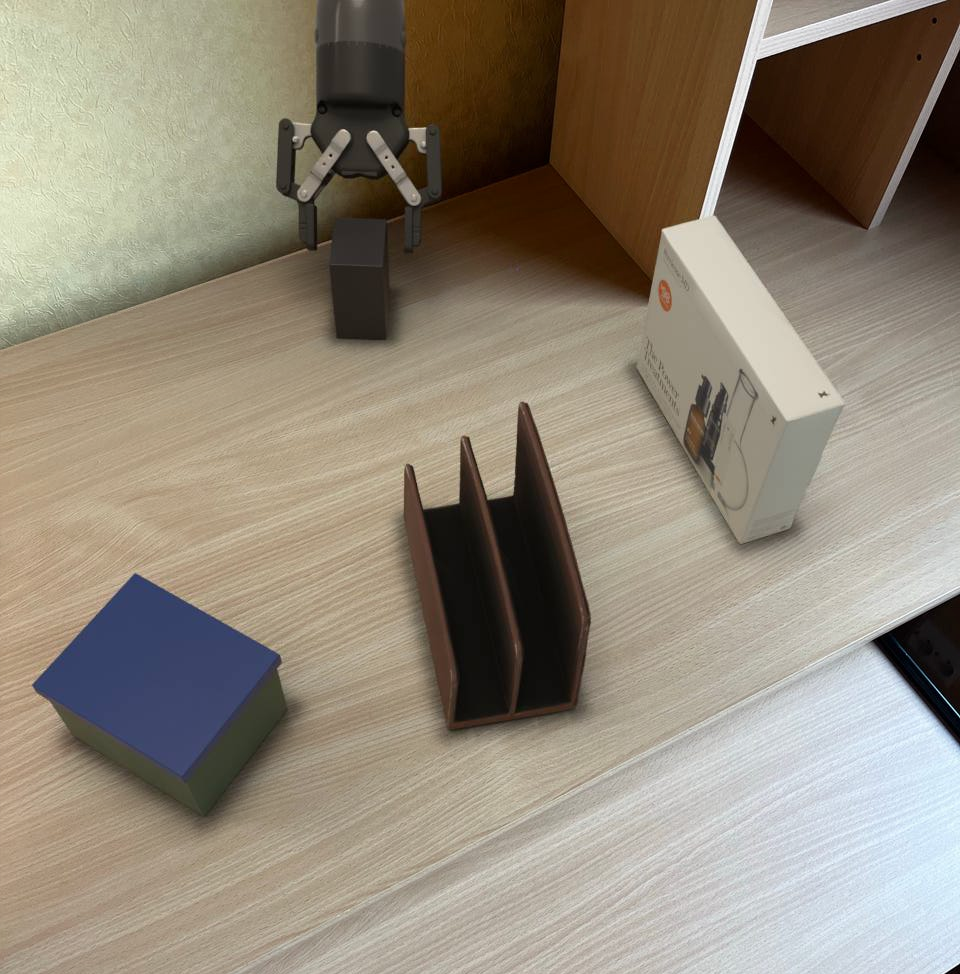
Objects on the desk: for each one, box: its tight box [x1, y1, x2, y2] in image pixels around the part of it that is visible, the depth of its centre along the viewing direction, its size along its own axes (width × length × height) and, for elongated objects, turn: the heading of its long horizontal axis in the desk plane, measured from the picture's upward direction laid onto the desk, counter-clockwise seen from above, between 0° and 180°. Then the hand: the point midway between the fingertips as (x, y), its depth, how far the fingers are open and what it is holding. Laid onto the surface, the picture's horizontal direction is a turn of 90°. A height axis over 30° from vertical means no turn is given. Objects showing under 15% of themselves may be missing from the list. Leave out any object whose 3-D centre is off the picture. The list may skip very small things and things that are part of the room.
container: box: [31, 572, 288, 817], centre depth 77 cm, size 13×11×8 cm
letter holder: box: [402, 401, 592, 731], centre depth 80 cm, size 10×20×14 cm, turn 12°
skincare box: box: [636, 214, 846, 545], centre depth 89 cm, size 21×6×16 cm, turn 21°
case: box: [328, 217, 391, 341], centre depth 98 cm, size 5×6×8 cm
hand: (360, 251), depth 97 cm, fingers open, 8 cm apart
